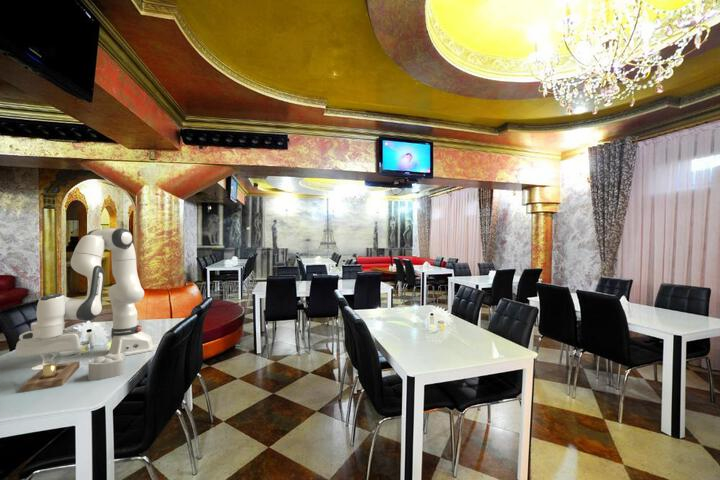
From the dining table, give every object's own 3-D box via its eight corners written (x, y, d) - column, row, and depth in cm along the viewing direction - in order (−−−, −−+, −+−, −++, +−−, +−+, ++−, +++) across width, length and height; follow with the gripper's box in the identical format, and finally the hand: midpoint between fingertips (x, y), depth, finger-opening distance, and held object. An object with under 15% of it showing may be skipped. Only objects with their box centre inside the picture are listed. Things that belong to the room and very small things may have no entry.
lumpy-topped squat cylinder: (124, 375, 139) (124, 356, 139) (86, 382, 131) (87, 363, 131) (124, 367, 147) (125, 350, 147) (89, 374, 139) (90, 356, 139)
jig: (79, 367, 147) (79, 361, 147) (62, 385, 128) (62, 378, 128) (45, 372, 141) (46, 365, 141) (22, 392, 122) (22, 384, 122)
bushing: (57, 380, 133) (58, 362, 133) (53, 384, 129) (53, 365, 130) (45, 382, 131) (45, 363, 131) (40, 385, 127) (41, 367, 128)
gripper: (83, 326, 138) (82, 356, 138) (21, 332, 128) (20, 364, 128) (79, 330, 133) (78, 361, 132) (13, 336, 123) (12, 369, 122)
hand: (49, 362), depth 130 cm, fingers closed
